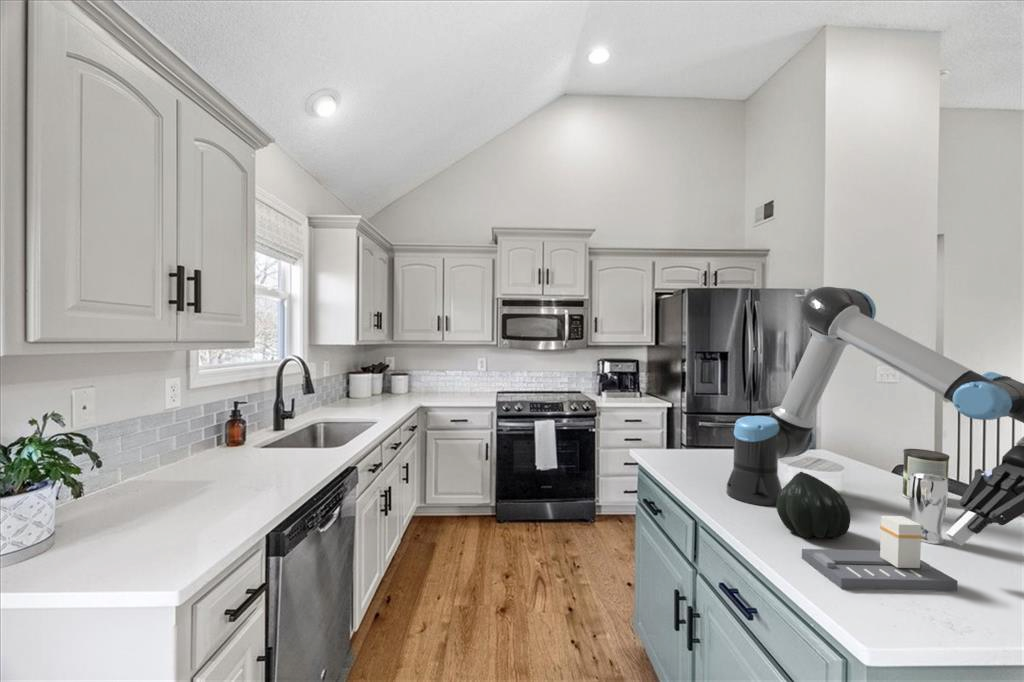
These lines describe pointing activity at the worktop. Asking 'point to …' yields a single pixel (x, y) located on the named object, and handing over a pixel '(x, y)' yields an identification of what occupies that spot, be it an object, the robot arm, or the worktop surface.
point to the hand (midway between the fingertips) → (953, 539)
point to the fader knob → (900, 541)
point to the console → (875, 571)
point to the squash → (812, 508)
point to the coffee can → (923, 465)
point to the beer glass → (928, 504)
